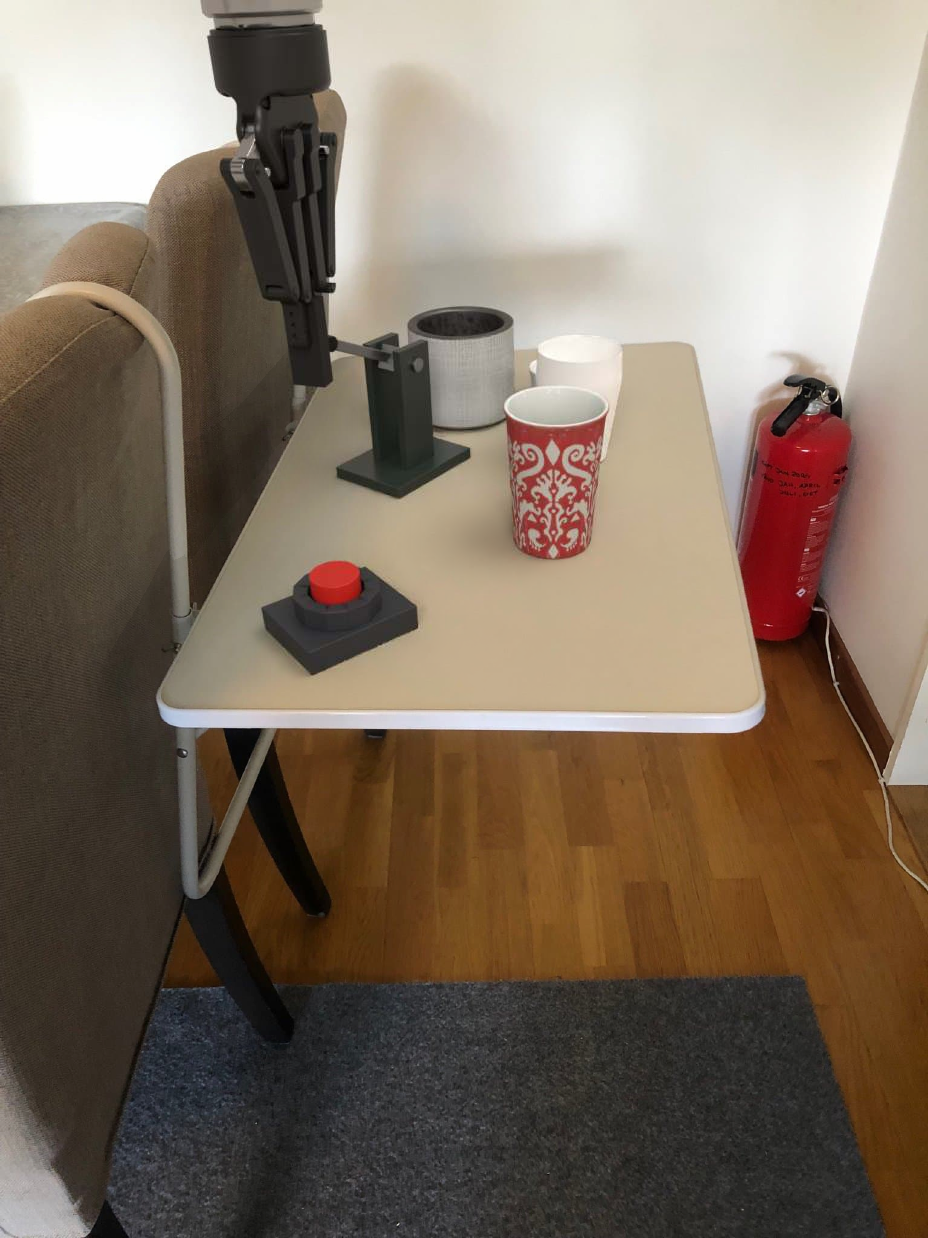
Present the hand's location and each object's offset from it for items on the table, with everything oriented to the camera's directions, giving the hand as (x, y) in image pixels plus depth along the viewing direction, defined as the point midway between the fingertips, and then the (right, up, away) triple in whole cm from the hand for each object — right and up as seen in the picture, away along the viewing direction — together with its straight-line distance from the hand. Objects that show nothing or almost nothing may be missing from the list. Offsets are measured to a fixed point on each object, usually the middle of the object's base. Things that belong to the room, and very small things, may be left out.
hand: (313, 382), depth 71 cm
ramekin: (+24, +9, +43) cm, 51 cm away
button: (+1, -16, +2) cm, 16 cm away
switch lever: (+1, +6, +18) cm, 19 cm away
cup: (+24, -1, +30) cm, 39 cm away
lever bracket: (+5, -2, +29) cm, 29 cm away
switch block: (+2, -19, +4) cm, 20 cm away
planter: (+12, +7, +41) cm, 43 cm away
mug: (+20, -10, +16) cm, 28 cm away
